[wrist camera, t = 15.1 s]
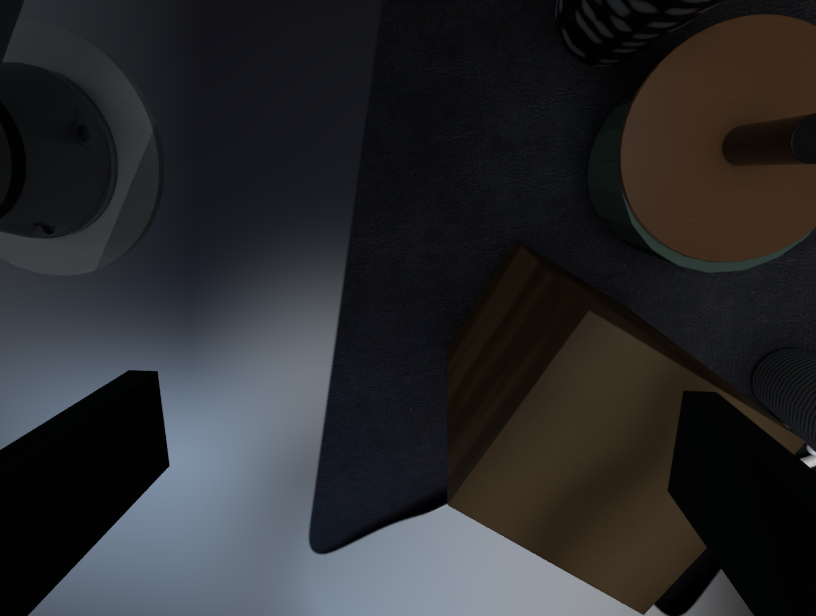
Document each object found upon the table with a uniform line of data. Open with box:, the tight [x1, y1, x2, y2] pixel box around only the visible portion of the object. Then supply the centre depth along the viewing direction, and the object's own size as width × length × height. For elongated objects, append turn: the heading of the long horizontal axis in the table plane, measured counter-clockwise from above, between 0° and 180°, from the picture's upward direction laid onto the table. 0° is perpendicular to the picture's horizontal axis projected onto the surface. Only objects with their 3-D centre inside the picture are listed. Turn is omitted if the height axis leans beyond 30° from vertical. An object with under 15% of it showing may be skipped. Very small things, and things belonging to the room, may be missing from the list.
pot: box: [588, 89, 812, 273], centre depth 39 cm, size 15×15×9 cm
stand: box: [447, 241, 806, 614], centre depth 36 cm, size 12×12×24 cm
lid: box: [618, 14, 816, 262], centre depth 30 cm, size 16×16×8 cm
